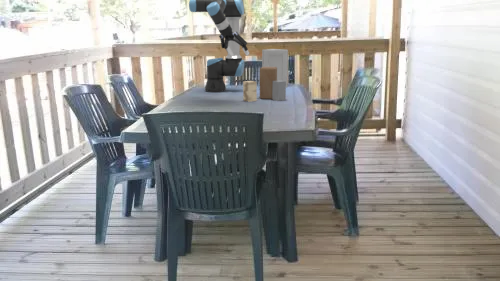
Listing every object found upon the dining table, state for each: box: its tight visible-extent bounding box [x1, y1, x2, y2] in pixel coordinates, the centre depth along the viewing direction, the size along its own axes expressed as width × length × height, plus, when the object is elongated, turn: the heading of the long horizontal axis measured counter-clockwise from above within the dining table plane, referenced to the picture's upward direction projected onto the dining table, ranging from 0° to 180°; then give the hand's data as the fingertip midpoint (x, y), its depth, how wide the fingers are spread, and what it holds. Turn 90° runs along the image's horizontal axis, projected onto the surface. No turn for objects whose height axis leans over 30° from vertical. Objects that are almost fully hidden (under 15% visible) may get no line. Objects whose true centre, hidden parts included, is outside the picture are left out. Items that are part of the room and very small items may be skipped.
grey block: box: [271, 80, 287, 102], centre depth 290 cm, size 6×6×12 cm
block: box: [259, 66, 277, 100], centre depth 297 cm, size 10×10×20 cm
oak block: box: [242, 80, 258, 103], centre depth 287 cm, size 6×6×12 cm
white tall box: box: [261, 48, 289, 88], centre depth 351 cm, size 19×15×28 cm
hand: (240, 55), depth 286 cm, fingers open, 13 cm apart
